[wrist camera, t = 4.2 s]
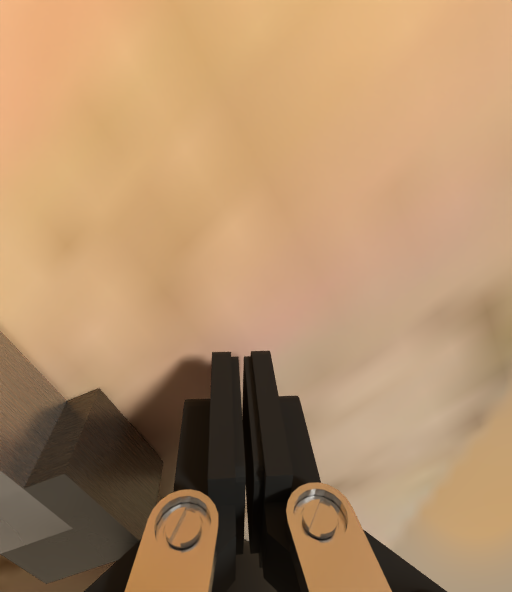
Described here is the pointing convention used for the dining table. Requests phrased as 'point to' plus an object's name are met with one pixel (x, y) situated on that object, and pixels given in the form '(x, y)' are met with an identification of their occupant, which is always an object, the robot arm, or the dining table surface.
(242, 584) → the cola bottle
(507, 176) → the dining table surface
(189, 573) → the robot arm
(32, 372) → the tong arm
